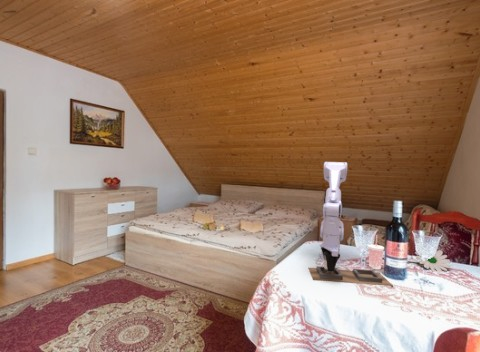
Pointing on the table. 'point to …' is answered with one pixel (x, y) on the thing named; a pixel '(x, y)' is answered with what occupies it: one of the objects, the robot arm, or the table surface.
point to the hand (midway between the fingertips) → (329, 268)
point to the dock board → (350, 276)
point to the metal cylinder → (326, 268)
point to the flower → (434, 262)
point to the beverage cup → (375, 255)
